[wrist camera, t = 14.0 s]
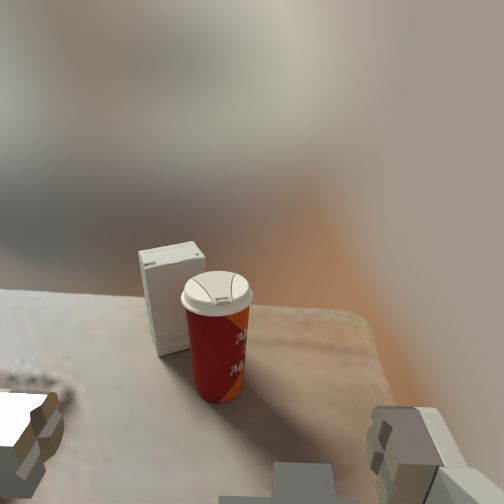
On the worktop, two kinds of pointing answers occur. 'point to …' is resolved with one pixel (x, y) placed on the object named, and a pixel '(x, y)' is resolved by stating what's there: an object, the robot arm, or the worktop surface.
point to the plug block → (303, 483)
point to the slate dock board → (263, 500)
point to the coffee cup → (217, 332)
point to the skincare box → (169, 292)
